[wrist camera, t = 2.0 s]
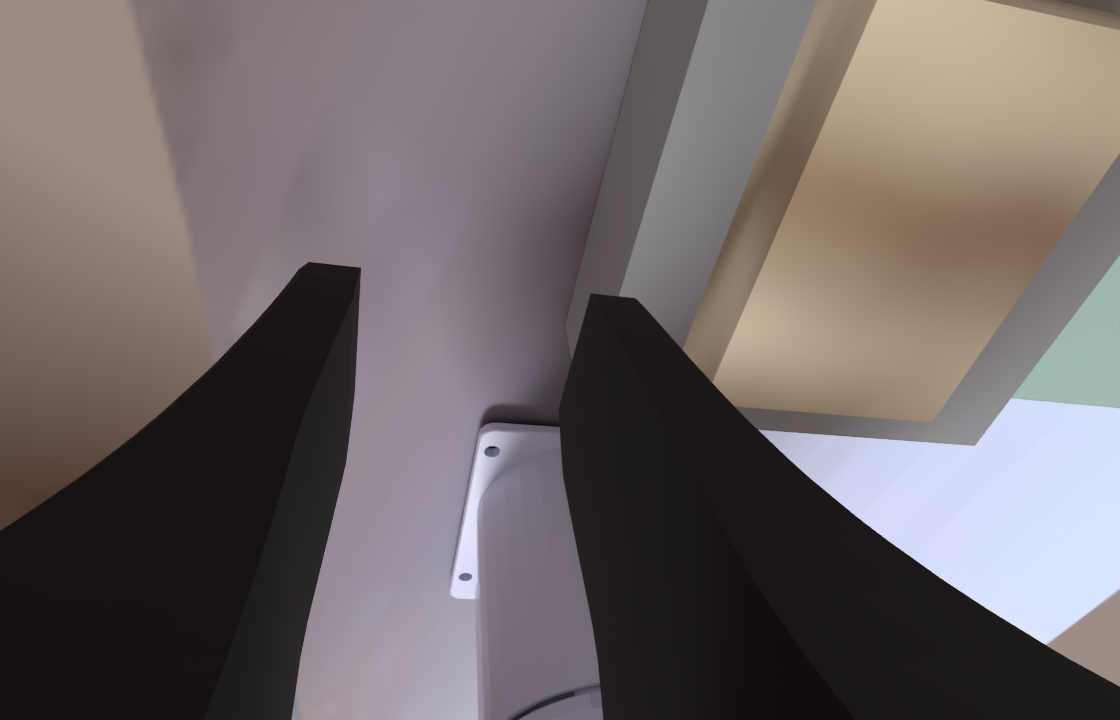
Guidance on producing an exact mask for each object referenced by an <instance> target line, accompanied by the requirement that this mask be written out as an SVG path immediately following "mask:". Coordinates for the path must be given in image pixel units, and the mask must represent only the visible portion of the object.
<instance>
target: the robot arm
mask: <svg viewBox="0 0 1120 720" xmlns="http://www.w3.org/2000/svg"><path fill="white" fill-rule="evenodd" d="M360 275H361V268H358V267H349V266H340V265H330V264H321V263H312V262H308V263H307V264H305V265H304V266H303V267H301V268H300V269H299V270H298V271H297V272H296V274H295V275H294V276H293V278H292V279H291V280H290V282H289V283H288V284H287V285H286V287H285V288H284V289H283V290H282V292H281V293H280V294H279V295H278V297H277V298H276V299H275V300H274V301H273V302H272V304H271V305H270V306H269V307H268V308H267V309H266V310H265V312H264V313H263V314H262V315H261V316H260V317H259V318H258V319H257V321H256V322H255V323H254V324H253V325H252V326H251V327H250V328H249V329H248V330H247V331H246V332H245V333H244V334H243V335H242V336H241V338H240V339H239V340H238V341H237V342H236V343H235V344H234V345H233V346H232V347H231V348H230V349H229V350H228V351H227V352H226V353H225V354H224V355H223V356H222V357H221V358H220V359H219V360H218V361H217V362H216V363H215V364H214V365H213V366H212V367H211V368H210V369H209V370H208V371H207V372H206V373H205V374H204V375H203V376H202V377H200V378H199V379H198V380H197V381H196V382H195V383H194V384H193V385H192V386H191V387H190V388H189V389H187V390H186V391H185V392H184V393H183V394H182V395H181V396H179V397H178V398H177V399H176V400H175V401H174V402H173V403H172V404H171V405H170V406H168V407H167V408H166V409H165V410H164V411H163V412H162V413H161V414H159V415H158V416H157V417H156V418H155V419H153V420H152V421H151V422H150V423H149V424H147V425H146V426H145V427H144V428H143V429H141V430H140V431H139V432H138V433H137V434H135V435H134V436H133V437H132V438H130V439H129V440H128V441H126V442H125V443H124V444H123V445H121V446H120V447H119V448H118V449H116V450H115V451H114V452H112V453H111V454H110V455H108V456H107V457H106V458H104V459H103V460H102V461H101V462H99V463H98V464H97V465H95V466H94V467H92V468H91V469H90V470H88V471H87V472H86V473H84V474H83V475H82V476H80V477H79V478H78V479H76V480H75V481H73V482H72V483H70V484H69V485H67V486H66V487H65V488H63V489H61V490H60V491H59V492H57V493H56V494H54V495H53V496H51V497H50V498H48V499H47V500H45V501H44V502H43V503H41V504H40V505H38V506H37V507H35V508H34V509H32V510H31V511H29V512H28V513H26V514H25V515H24V516H22V517H21V518H19V519H18V520H16V521H15V522H13V523H12V524H10V525H9V526H7V527H6V528H4V529H2V530H1V531H0V720H291V718H292V711H293V704H294V697H295V691H296V684H297V677H298V670H299V663H300V657H301V652H302V647H303V642H304V637H305V632H306V627H307V622H308V617H309V613H310V609H311V605H312V601H313V597H314V593H315V589H316V585H317V581H318V576H319V572H320V568H321V564H322V560H323V556H324V552H325V548H326V544H327V540H328V535H329V531H330V527H331V523H332V519H333V515H334V511H335V507H336V502H337V498H338V494H339V490H340V486H341V482H342V478H343V473H344V469H345V465H346V459H347V451H348V443H349V435H350V427H351V419H352V411H353V402H354V394H355V375H356V355H357V335H358V315H359V295H360ZM559 423H560V427H550V426H536V425H522V424H508V423H489V424H486V425H484V426H483V427H482V428H481V429H480V431H479V434H478V440H477V445H476V450H475V455H474V460H473V466H472V471H471V476H470V481H469V486H468V492H467V497H466V502H465V507H464V512H463V518H462V523H461V528H460V533H459V538H458V544H457V549H456V554H455V559H454V564H453V570H452V575H451V580H450V594H451V595H452V596H453V597H455V598H460V599H475V615H476V653H477V690H478V720H1120V687H1119V686H1117V685H1115V684H1114V683H1112V682H1110V681H1108V680H1106V679H1104V678H1103V677H1101V676H1099V675H1097V674H1095V673H1094V672H1092V671H1090V670H1088V669H1086V668H1084V667H1083V666H1081V665H1079V664H1077V663H1075V662H1073V661H1071V660H1070V659H1068V658H1066V657H1065V656H1063V655H1061V654H1060V653H1058V652H1056V651H1054V650H1053V649H1051V648H1049V647H1048V646H1046V645H1045V644H1043V643H1041V642H1040V641H1038V640H1036V639H1035V638H1033V637H1032V636H1030V635H1028V634H1027V633H1025V632H1023V631H1022V630H1020V629H1019V628H1017V627H1015V626H1014V625H1012V624H1010V623H1009V622H1007V621H1006V620H1004V619H1002V618H1001V617H999V616H997V615H996V614H994V613H993V612H991V611H989V610H988V609H986V608H985V607H983V606H982V605H980V604H979V603H977V602H976V601H974V600H972V599H971V598H969V597H968V596H966V595H965V594H963V593H962V592H960V591H959V590H957V589H956V588H954V587H953V586H951V585H950V584H948V583H947V582H945V581H944V580H942V579H941V578H939V577H938V576H937V575H935V574H934V573H932V572H931V571H930V570H928V569H927V568H925V567H924V566H923V565H921V564H920V563H918V562H917V561H916V560H914V559H913V558H911V557H910V556H909V555H907V554H906V553H904V552H903V551H902V550H900V549H899V548H897V547H896V546H894V545H893V544H892V543H890V542H889V541H887V540H886V539H885V538H884V537H882V536H881V535H880V534H878V533H877V532H876V531H874V530H873V529H872V528H870V527H869V526H868V525H866V524H865V523H864V522H863V521H861V520H860V519H859V518H857V517H856V516H855V515H854V514H852V513H851V512H850V511H849V510H848V509H846V508H845V507H844V506H843V505H842V504H840V503H839V502H838V501H837V500H836V499H834V498H833V497H832V496H831V495H830V494H828V493H827V492H826V491H825V490H823V489H822V488H821V487H820V486H819V485H817V484H816V483H815V482H814V481H813V480H811V479H810V478H809V477H808V476H807V475H806V474H805V473H803V472H802V471H801V470H800V469H799V468H798V467H797V466H796V465H794V464H793V463H792V462H791V461H790V460H789V459H788V458H787V457H786V456H785V455H784V454H783V453H782V452H780V451H779V450H778V449H777V448H776V447H775V446H774V445H773V444H772V443H771V442H770V441H769V440H768V439H767V438H766V437H765V436H764V435H763V434H762V433H761V432H760V431H759V430H758V429H756V428H755V427H754V426H753V425H752V424H751V423H750V422H749V421H748V420H747V419H746V418H745V417H744V416H743V415H742V414H741V412H740V411H739V410H738V409H737V408H736V407H735V406H734V405H733V404H732V403H731V402H730V401H729V400H728V399H727V398H726V397H725V396H724V395H723V394H722V393H721V392H720V391H719V390H718V388H717V387H716V386H715V385H714V384H713V383H712V382H711V381H710V380H709V379H708V378H707V377H706V375H705V374H704V373H703V372H702V371H701V370H700V369H699V368H698V367H697V366H696V364H695V363H694V362H693V361H692V360H691V359H690V358H689V357H688V355H687V354H686V353H685V352H684V351H683V350H682V349H681V348H680V346H679V345H678V344H677V343H676V342H675V341H674V340H673V339H672V337H671V336H670V335H669V334H668V333H667V332H666V331H665V329H664V328H663V327H662V326H661V325H660V324H659V323H658V322H657V320H656V319H655V318H654V317H653V316H652V315H651V314H650V313H649V312H648V310H647V309H646V308H645V307H644V306H643V305H642V304H641V303H640V302H639V301H638V300H637V299H636V298H629V297H620V296H611V295H602V294H593V293H591V294H590V297H589V301H588V305H587V308H586V312H585V316H584V319H583V323H582V327H581V330H580V334H579V338H578V341H577V345H576V348H575V352H574V356H573V359H572V363H571V367H570V370H569V374H568V378H567V381H566V385H565V388H564V392H563V396H562V399H561V403H560V407H559ZM489 446H495V447H496V448H491V449H490V448H487V447H489Z"/></svg>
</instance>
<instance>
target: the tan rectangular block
mask: <svg viewBox="0 0 1120 720" xmlns="http://www.w3.org/2000/svg"><path fill="white" fill-rule="evenodd" d="M1119 153H1120V15H1117V14H1114V13H1110V12H1105V11H1101V10H1096V9H1092V8H1088V7H1083V6H1079V5H1074V4H1070V3H1066V2H1061V1H1057V0H817V2H816V4H815V7H814V10H813V12H812V15H811V17H810V20H809V23H808V25H807V28H806V30H805V33H804V36H803V38H802V41H801V43H800V46H799V49H798V51H797V54H796V56H795V59H794V62H793V64H792V67H791V69H790V72H789V75H788V77H787V80H786V82H785V85H784V88H783V90H782V93H781V95H780V98H779V100H778V103H777V106H776V108H775V111H774V113H773V116H772V119H771V121H770V124H769V126H768V129H767V132H766V134H765V137H764V139H763V142H762V145H761V147H760V150H759V152H758V155H757V158H756V160H755V163H754V165H753V168H752V171H751V173H750V176H749V178H748V181H747V184H746V186H745V189H744V191H743V194H742V196H741V199H740V202H739V204H738V207H737V209H736V212H735V215H734V217H733V220H732V222H731V225H730V228H729V230H728V233H727V235H726V238H725V241H724V243H723V246H722V248H721V251H720V254H719V256H718V259H717V261H716V264H715V267H714V269H713V272H712V274H711V277H710V279H709V282H708V285H707V287H706V290H705V292H704V295H703V298H702V300H701V303H700V305H699V308H698V311H697V313H696V316H695V318H694V321H693V324H692V326H691V329H690V331H689V334H688V337H687V339H686V342H685V344H684V347H683V351H684V352H685V353H686V354H687V355H688V357H689V358H690V359H691V360H692V361H693V362H694V363H695V364H696V366H697V367H698V368H699V369H700V370H701V371H702V372H703V373H704V374H705V375H706V377H707V378H708V379H709V380H710V381H711V382H712V383H713V384H714V385H715V386H716V387H717V388H718V390H719V391H720V392H721V393H722V394H723V395H724V396H725V397H726V398H727V399H728V400H729V401H730V402H731V403H732V404H733V405H734V406H735V407H747V408H760V409H772V410H784V411H797V412H809V413H821V414H834V415H846V416H858V417H871V418H883V419H896V420H908V421H920V422H933V421H934V419H935V418H936V417H937V415H938V414H939V412H940V411H941V409H942V408H943V407H944V405H945V404H946V402H947V401H948V399H949V398H950V396H951V395H952V394H953V392H954V391H955V389H956V388H957V386H958V385H959V383H960V382H961V381H962V379H963V378H964V376H965V375H966V373H967V372H968V371H969V369H970V368H971V366H972V365H973V363H974V362H975V360H976V359H977V358H978V356H979V355H980V353H981V352H982V350H983V349H984V347H985V346H986V345H987V343H988V342H989V340H990V339H991V337H992V336H993V335H994V333H995V332H996V330H997V329H998V327H999V326H1000V324H1001V323H1002V322H1003V320H1004V319H1005V317H1006V316H1007V314H1008V313H1009V312H1010V310H1011V309H1012V307H1013V306H1014V304H1015V303H1016V301H1017V300H1018V299H1019V297H1020V296H1021V294H1022V293H1023V291H1024V290H1025V288H1026V287H1027V286H1028V284H1029V283H1030V281H1031V280H1032V278H1033V277H1034V276H1035V274H1036V273H1037V271H1038V270H1039V268H1040V267H1041V265H1042V264H1043V263H1044V261H1045V260H1046V258H1047V257H1048V255H1049V254H1050V253H1051V251H1052V250H1053V248H1054V247H1055V245H1056V244H1057V242H1058V241H1059V240H1060V238H1061V237H1062V235H1063V234H1064V232H1065V231H1066V229H1067V228H1068V227H1069V225H1070V224H1071V222H1072V221H1073V219H1074V218H1075V217H1076V215H1077V214H1078V212H1079V211H1080V209H1081V208H1082V206H1083V205H1084V204H1085V202H1086V201H1087V199H1088V198H1089V196H1090V195H1091V194H1092V192H1093V191H1094V189H1095V188H1096V186H1097V185H1098V183H1099V182H1100V181H1101V179H1102V178H1103V176H1104V175H1105V173H1106V172H1107V170H1108V169H1109V168H1110V166H1111V165H1112V163H1113V162H1114V160H1115V159H1116V158H1117V156H1118V155H1119Z"/></svg>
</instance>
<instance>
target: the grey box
mask: <svg viewBox="0 0 1120 720" xmlns="http://www.w3.org/2000/svg"><path fill="white" fill-rule="evenodd" d="M1057 1H1061V2H1066V3H1070V4H1074V5H1079V6H1083V7H1088V8H1092V9H1096V10H1101V11H1105V12H1110V13H1114V14H1117V15H1120V0H1057ZM816 2H817V0H649V1H648V5H647V9H646V12H645V16H644V20H643V24H642V28H641V32H640V36H639V40H638V43H637V47H636V51H635V55H634V59H633V63H632V67H631V71H630V74H629V78H628V82H627V86H626V90H625V94H624V98H623V102H622V105H621V109H620V113H619V117H618V121H617V125H616V129H615V133H614V137H613V140H612V144H611V148H610V152H609V156H608V160H607V164H606V168H605V171H604V175H603V179H602V183H601V187H600V191H599V195H598V199H597V202H596V206H595V210H594V214H593V218H592V222H591V226H590V230H589V233H588V237H587V241H586V245H585V249H584V253H583V257H582V261H581V264H580V268H579V272H578V276H577V280H576V284H575V288H574V292H573V295H572V299H571V303H570V307H569V311H568V315H567V319H566V323H565V329H566V334H567V339H568V344H569V350H570V355H571V360H572V359H573V356H574V352H575V348H576V345H577V341H578V338H579V334H580V330H581V327H582V323H583V319H584V316H585V312H586V308H587V305H588V301H589V297H590V294H591V293H593V294H602V295H611V296H620V297H629V298H636V299H637V300H638V301H639V302H640V303H641V304H642V305H643V306H644V307H645V308H646V309H647V310H648V312H649V313H650V314H651V315H652V316H653V317H654V318H655V319H656V320H657V322H658V323H659V324H660V325H661V326H662V327H663V328H664V329H665V331H666V332H667V333H668V334H669V335H670V336H671V337H672V339H673V340H674V341H675V342H676V343H677V344H678V345H679V346H680V348H681V349H682V350H683V347H684V344H685V342H686V339H687V337H688V334H689V331H690V329H691V326H692V324H693V321H694V318H695V316H696V313H697V311H698V308H699V305H700V303H701V300H702V298H703V295H704V292H705V290H706V287H707V285H708V282H709V279H710V277H711V274H712V272H713V269H714V267H715V264H716V261H717V259H718V256H719V254H720V251H721V248H722V246H723V243H724V241H725V238H726V235H727V233H728V230H729V228H730V225H731V222H732V220H733V217H734V215H735V212H736V209H737V207H738V204H739V202H740V199H741V196H742V194H743V191H744V189H745V186H746V184H747V181H748V178H749V176H750V173H751V171H752V168H753V165H754V163H755V160H756V158H757V155H758V152H759V150H760V147H761V145H762V142H763V139H764V137H765V134H766V132H767V129H768V126H769V124H770V121H771V119H772V116H773V113H774V111H775V108H776V106H777V103H778V100H779V98H780V95H781V93H782V90H783V88H784V85H785V82H786V80H787V77H788V75H789V72H790V69H791V67H792V64H793V62H794V59H795V56H796V54H797V51H798V49H799V46H800V43H801V41H802V38H803V36H804V33H805V30H806V28H807V25H808V23H809V20H810V17H811V15H812V12H813V10H814V7H815V4H816ZM1119 256H1120V153H1119V155H1118V156H1117V158H1116V159H1115V160H1114V162H1113V163H1112V165H1111V166H1110V168H1109V169H1108V170H1107V172H1106V173H1105V175H1104V176H1103V178H1102V179H1101V181H1100V182H1099V183H1098V185H1097V186H1096V188H1095V189H1094V191H1093V192H1092V194H1091V195H1090V196H1089V198H1088V199H1087V201H1086V202H1085V204H1084V205H1083V206H1082V208H1081V209H1080V211H1079V212H1078V214H1077V215H1076V217H1075V218H1074V219H1073V221H1072V222H1071V224H1070V225H1069V227H1068V228H1067V229H1066V231H1065V232H1064V234H1063V235H1062V237H1061V238H1060V240H1059V241H1058V242H1057V244H1056V245H1055V247H1054V248H1053V250H1052V251H1051V253H1050V254H1049V255H1048V257H1047V258H1046V260H1045V261H1044V263H1043V264H1042V265H1041V267H1040V268H1039V270H1038V271H1037V273H1036V274H1035V276H1034V277H1033V278H1032V280H1031V281H1030V283H1029V284H1028V286H1027V287H1026V288H1025V290H1024V291H1023V293H1022V294H1021V296H1020V297H1019V299H1018V300H1017V301H1016V303H1015V304H1014V306H1013V307H1012V309H1011V310H1010V312H1009V313H1008V314H1007V316H1006V317H1005V319H1004V320H1003V322H1002V323H1001V324H1000V326H999V327H998V329H997V330H996V332H995V333H994V335H993V336H992V337H991V339H990V340H989V342H988V343H987V345H986V346H985V347H984V349H983V350H982V352H981V353H980V355H979V356H978V358H977V359H976V360H975V362H974V363H973V365H972V366H971V368H970V369H969V371H968V372H967V373H966V375H965V376H964V378H963V379H962V381H961V382H960V383H959V385H958V386H957V388H956V389H955V391H954V392H953V394H952V395H951V396H950V398H949V399H948V401H947V402H946V404H945V405H944V407H943V408H942V409H941V411H940V412H939V414H938V415H937V417H936V418H935V419H934V421H933V422H920V421H908V420H896V419H883V418H871V417H858V416H846V415H834V414H821V413H809V412H797V411H784V410H772V409H760V408H747V407H736V408H737V409H738V410H739V411H740V412H741V414H742V415H743V416H744V417H745V418H746V419H747V420H748V421H749V422H750V423H751V424H752V425H753V426H754V427H755V428H756V429H758V430H770V431H783V432H797V433H810V434H824V435H837V436H851V437H864V438H877V439H891V440H904V441H918V442H931V443H945V444H958V445H972V446H975V445H976V443H977V442H978V441H979V439H980V438H981V437H982V436H983V434H984V433H985V432H986V430H987V429H988V428H989V426H990V425H991V424H992V422H993V421H994V420H995V418H996V417H997V416H998V415H999V413H1000V412H1001V411H1002V409H1003V408H1004V407H1005V405H1006V404H1007V403H1008V401H1009V400H1010V399H1011V397H1012V396H1013V395H1014V393H1015V392H1016V391H1017V390H1018V388H1019V387H1020V386H1021V384H1022V383H1023V382H1024V380H1025V379H1026V378H1027V376H1028V375H1029V374H1030V372H1031V371H1032V370H1033V369H1034V367H1035V366H1036V365H1037V363H1038V362H1039V361H1040V359H1041V358H1042V357H1043V355H1044V354H1045V353H1046V351H1047V350H1048V349H1049V348H1050V346H1051V345H1052V344H1053V342H1054V341H1055V340H1056V338H1057V337H1058V336H1059V334H1060V333H1061V332H1062V330H1063V329H1064V328H1065V327H1066V325H1067V324H1068V323H1069V321H1070V320H1071V319H1072V317H1073V316H1074V315H1075V313H1076V312H1077V311H1078V309H1079V308H1080V307H1081V306H1082V304H1083V303H1084V302H1085V300H1086V299H1087V298H1088V296H1089V295H1090V294H1091V292H1092V291H1093V290H1094V288H1095V287H1096V286H1097V285H1098V283H1099V282H1100V281H1101V279H1102V278H1103V277H1104V275H1105V274H1106V273H1107V271H1108V270H1109V269H1110V267H1111V266H1112V265H1113V264H1114V262H1115V261H1116V260H1117V258H1118V257H1119Z"/></svg>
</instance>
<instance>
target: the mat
mask: <svg viewBox="0 0 1120 720" xmlns="http://www.w3.org/2000/svg"><path fill="white" fill-rule="evenodd" d="M1011 398H1014V399H1025V400H1036V401H1047V402H1058V403H1069V404H1080V405H1091V406H1102V407H1113V408H1120V256H1119V257H1118V258H1117V260H1116V261H1115V262H1114V264H1113V265H1112V266H1111V267H1110V269H1109V270H1108V271H1107V273H1106V274H1105V275H1104V277H1103V278H1102V279H1101V281H1100V282H1099V283H1098V285H1097V286H1096V287H1095V288H1094V290H1093V291H1092V292H1091V294H1090V295H1089V296H1088V298H1087V299H1086V300H1085V302H1084V303H1083V304H1082V306H1081V307H1080V308H1079V309H1078V311H1077V312H1076V313H1075V315H1074V316H1073V317H1072V319H1071V320H1070V321H1069V323H1068V324H1067V325H1066V327H1065V328H1064V329H1063V330H1062V332H1061V333H1060V334H1059V336H1058V337H1057V338H1056V340H1055V341H1054V342H1053V344H1052V345H1051V346H1050V348H1049V349H1048V350H1047V351H1046V353H1045V354H1044V355H1043V357H1042V358H1041V359H1040V361H1039V362H1038V363H1037V365H1036V366H1035V367H1034V369H1033V370H1032V371H1031V372H1030V374H1029V375H1028V376H1027V378H1026V379H1025V380H1024V382H1023V383H1022V384H1021V386H1020V387H1019V388H1018V390H1017V391H1016V392H1015V393H1014V395H1013V396H1012V397H1011Z"/></svg>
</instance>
